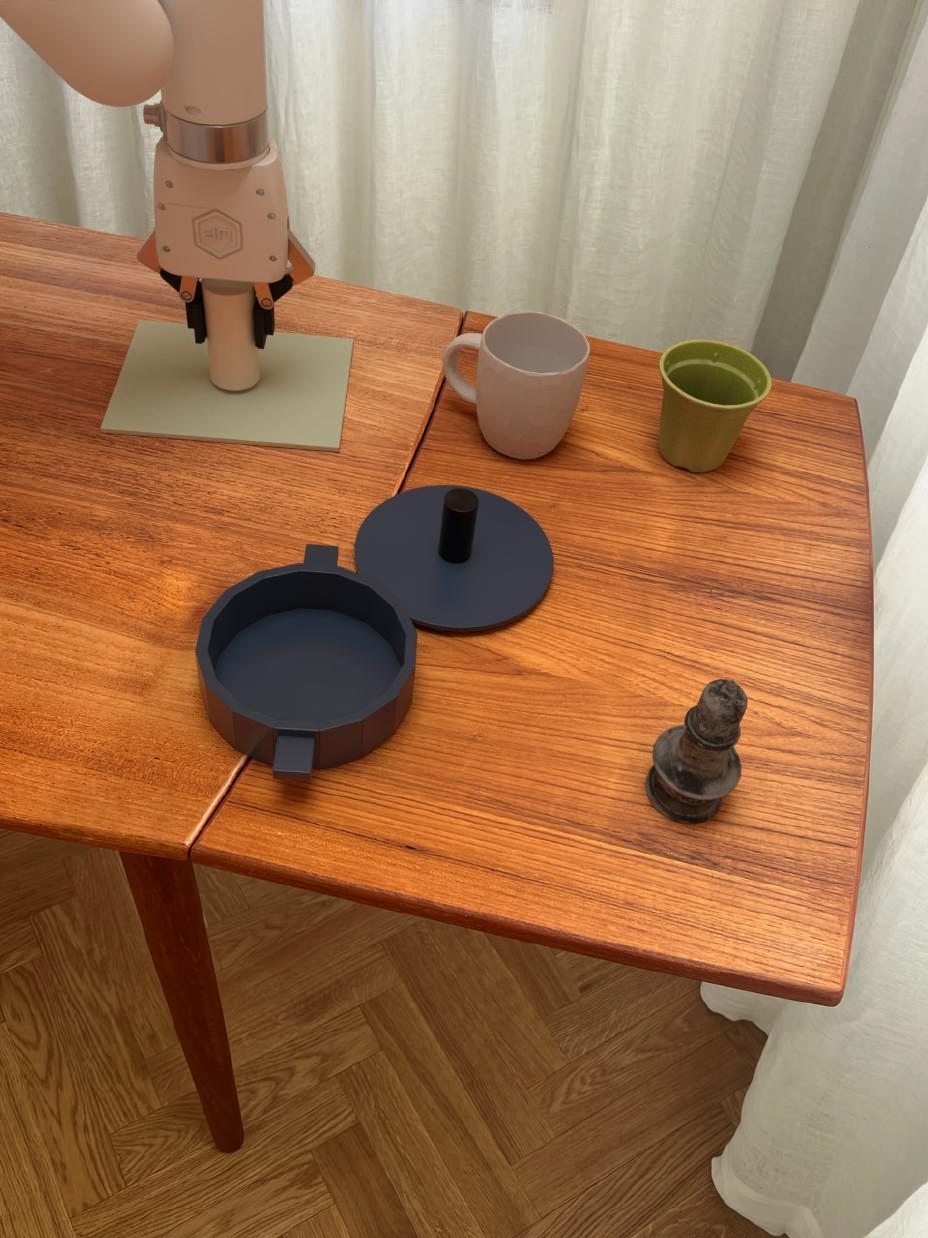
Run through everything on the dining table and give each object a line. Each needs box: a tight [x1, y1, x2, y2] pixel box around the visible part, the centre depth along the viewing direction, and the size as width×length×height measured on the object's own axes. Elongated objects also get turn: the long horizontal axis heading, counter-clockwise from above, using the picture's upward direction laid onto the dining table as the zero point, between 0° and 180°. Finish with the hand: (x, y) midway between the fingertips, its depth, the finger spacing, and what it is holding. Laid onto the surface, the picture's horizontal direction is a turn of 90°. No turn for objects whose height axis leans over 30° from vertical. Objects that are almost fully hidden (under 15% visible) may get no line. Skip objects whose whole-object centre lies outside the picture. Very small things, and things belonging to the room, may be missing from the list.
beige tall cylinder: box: [200, 278, 260, 391], centre depth 95 cm, size 4×4×10 cm
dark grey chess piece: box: [644, 678, 749, 825], centre depth 71 cm, size 6×6×12 cm
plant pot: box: [657, 339, 772, 473], centre depth 96 cm, size 9×9×9 cm
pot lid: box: [353, 484, 555, 633], centre depth 85 cm, size 16×16×7 cm
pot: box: [194, 543, 418, 782], centre depth 76 cm, size 15×20×4 cm
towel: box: [99, 319, 355, 453], centre depth 99 cm, size 20×16×1 cm
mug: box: [442, 310, 591, 460], centre depth 95 cm, size 13×9×10 cm
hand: (232, 335), depth 96 cm, fingers closed on beige tall cylinder, 4 cm apart
